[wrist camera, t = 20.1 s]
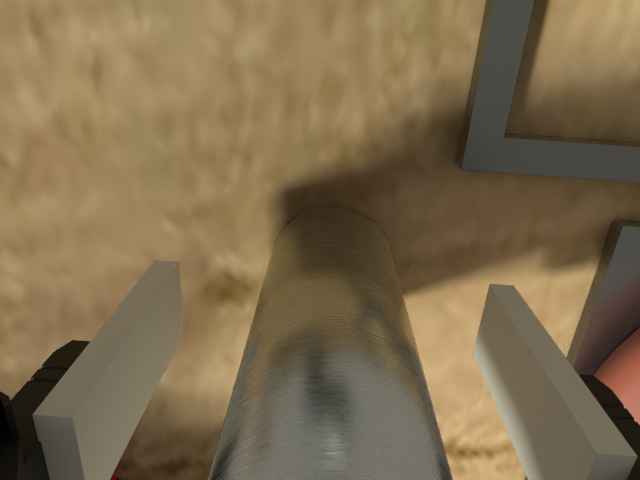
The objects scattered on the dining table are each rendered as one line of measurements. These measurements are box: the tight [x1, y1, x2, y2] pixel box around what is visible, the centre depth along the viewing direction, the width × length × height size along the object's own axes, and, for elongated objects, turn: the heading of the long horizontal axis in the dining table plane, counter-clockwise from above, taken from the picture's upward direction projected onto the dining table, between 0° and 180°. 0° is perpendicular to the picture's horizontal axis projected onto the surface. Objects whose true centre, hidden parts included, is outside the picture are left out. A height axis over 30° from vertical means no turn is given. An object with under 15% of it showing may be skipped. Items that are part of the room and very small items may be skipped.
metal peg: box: [208, 206, 453, 480], centre depth 12 cm, size 5×5×14 cm
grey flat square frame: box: [456, 0, 640, 183], centre depth 15 cm, size 10×10×1 cm
